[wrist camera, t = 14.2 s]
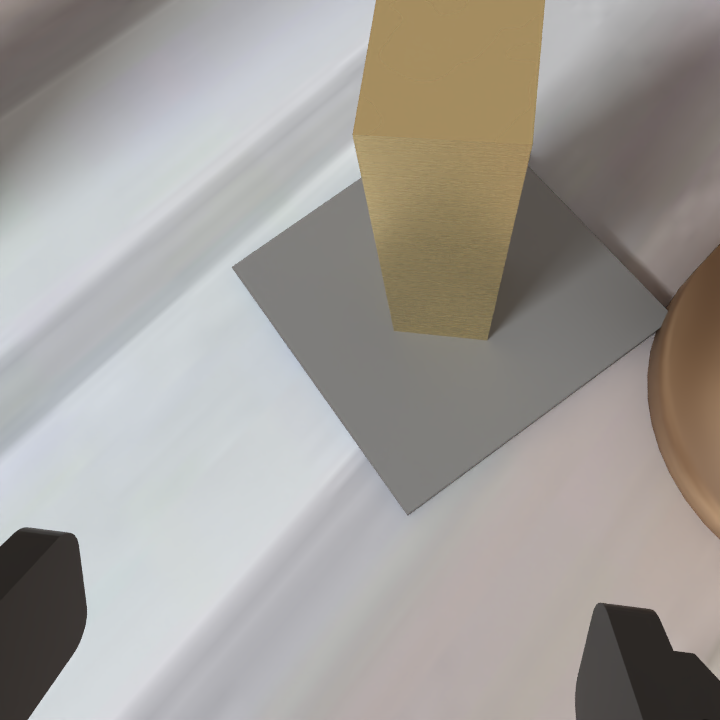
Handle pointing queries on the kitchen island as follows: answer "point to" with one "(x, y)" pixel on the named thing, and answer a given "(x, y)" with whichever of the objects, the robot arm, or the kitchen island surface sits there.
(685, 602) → the kitchen island surface
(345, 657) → the kitchen island surface
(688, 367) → the copper round socket base
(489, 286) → the brass bar
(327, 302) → the mat
